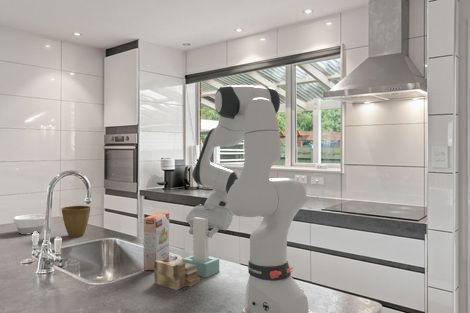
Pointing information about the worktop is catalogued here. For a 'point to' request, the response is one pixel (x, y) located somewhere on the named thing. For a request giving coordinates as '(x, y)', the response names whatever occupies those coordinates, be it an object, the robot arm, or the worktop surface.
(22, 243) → the worktop surface
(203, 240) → the white strip
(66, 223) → the plant pot
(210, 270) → the teal holder
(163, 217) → the cracker box
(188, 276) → the offcut stack
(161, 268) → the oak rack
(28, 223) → the bowl
